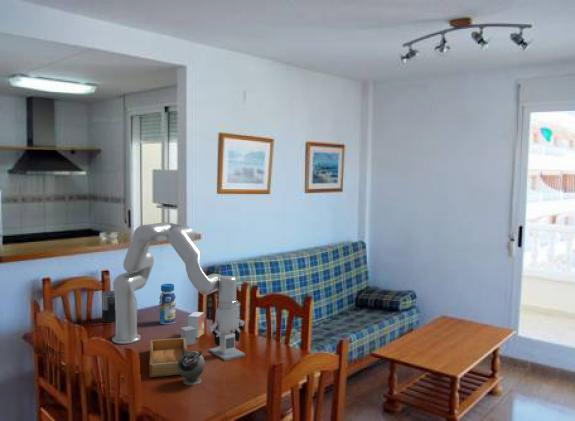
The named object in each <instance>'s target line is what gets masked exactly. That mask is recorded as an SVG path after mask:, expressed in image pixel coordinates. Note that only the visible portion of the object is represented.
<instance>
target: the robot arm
mask: <svg viewBox="0 0 575 421" xmlns="http://www.w3.org/2000/svg"><path fill="white" fill-rule="evenodd" d="M195 235H196V234H195V232H194V229H193V228H191V227H190V226H188V225H184V224H177V223H172V222H165V221H164V222H157V223H155V222H154V223H150V224H141V225H139V226H137V227H136V228H135V230H133V233H132V237H131V241H130V243H129V246H128V248H127V250H126V254H125V257H124V260H123V264H122V266H123V269H124V271H126V272H123V273H121V274H119V275H117V276H116V277H115V278H114V280H113V282H112V287H113V288H112V289H113V291H114V293H115V306H116V321H115V335H113V337H112V340H111V341H112V342H113V343H115V344H119V345H120V344H121V345H124V344H125V345H126V344H132V343H136V342H138V341H140V340H141V335H140V334H139V333H138V320H137V319H138V307H137V306H138V303H137V302H138V300H137V298H136V297H137V296H136V295H135V291H138V290H141V289H143V288H145V286H146V285H147V282H148V281H149V280H148V279H149V278H150V275H151V272H152V269H153V267H154V262H155V261H154V256H153V253H152V252H151V251H149V248H150V243H159V242H164V241H168V243H169V244H170V245H171V247H172V248H173V249H174V251H175V252H176V253H177V255H178V256H179V258H180V259H181V260H182V261H183V263H184V265H185V271H186V273H187V274H186V275H187V278H188V280H189V281H190V283H191V284H192V285H193V287H194V288H195V289H196V291H197V292H199V294H201V295H205V296H206V295H209V294H210V295H211V294H212V293H214V292H217V291H218V307H217V308H216V311H215V316H214V317H215V319H214V323H213V324H212V325H210V326H209V327H208V329H209V331H210V333H211V334H212V335H213V336H214V338H213V339H214V345H216V347H219V346H220V337H219V335H220V333H222V332H227V331H230V332H231V331H233V333H234V334H235V342H238V343H239V342H240V338H241V337H240V333H241V331H242V329H243V328H244V325H245V323H246V322H245V320H243V319H240V316H239V309H238V306H237V304H239V300H237V278H236V277H235V276H232V275H222V274H219V273H211V274H208V275H206V274H205V272H204V271H203V269H202V268H201V265H200V259H201V258H200V257H201V255H202V253H201V250H200V249H199V248H198V246H197V245H196V243H194V240H195V238H196V236H195Z"/></svg>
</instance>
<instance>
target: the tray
mask: <svg viewBox="0 0 575 421" xmlns="http://www.w3.org/2000/svg"><path fill="white" fill-rule="evenodd" d="M149 342H150V344H149V378H156V377H168V376H178V375H180V373H179V371H178V368H177V364H178V360H179V358H180V357H181V356H182V355H183V350H184V349H185V350H186V351H187V352H188V345H186V339H185V338H181V337H177V338H163V339H161V338H160V339H151V340H150V341H149ZM180 376H181V375H180Z"/></svg>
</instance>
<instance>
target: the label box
mask: <svg viewBox="0 0 575 421" xmlns="http://www.w3.org/2000/svg"><path fill="white" fill-rule="evenodd" d="M219 337H220V346H218V347H219V351H220V352H222V353H224V354H228V353H232V352H235V348H236V341H235V334H234V332H232V331H231V330H230V331H225V332H221V333H220V335H219Z"/></svg>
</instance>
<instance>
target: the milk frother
mask: <svg viewBox="0 0 575 421" xmlns="http://www.w3.org/2000/svg"><path fill="white" fill-rule="evenodd" d="M100 295H101V309H102V310H101V311H102V312H101V313H102V314H101V322H104V323H111V322H112V323H114V322H116V306H115V293H114V290H106V291H102V292H101V294H100Z"/></svg>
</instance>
